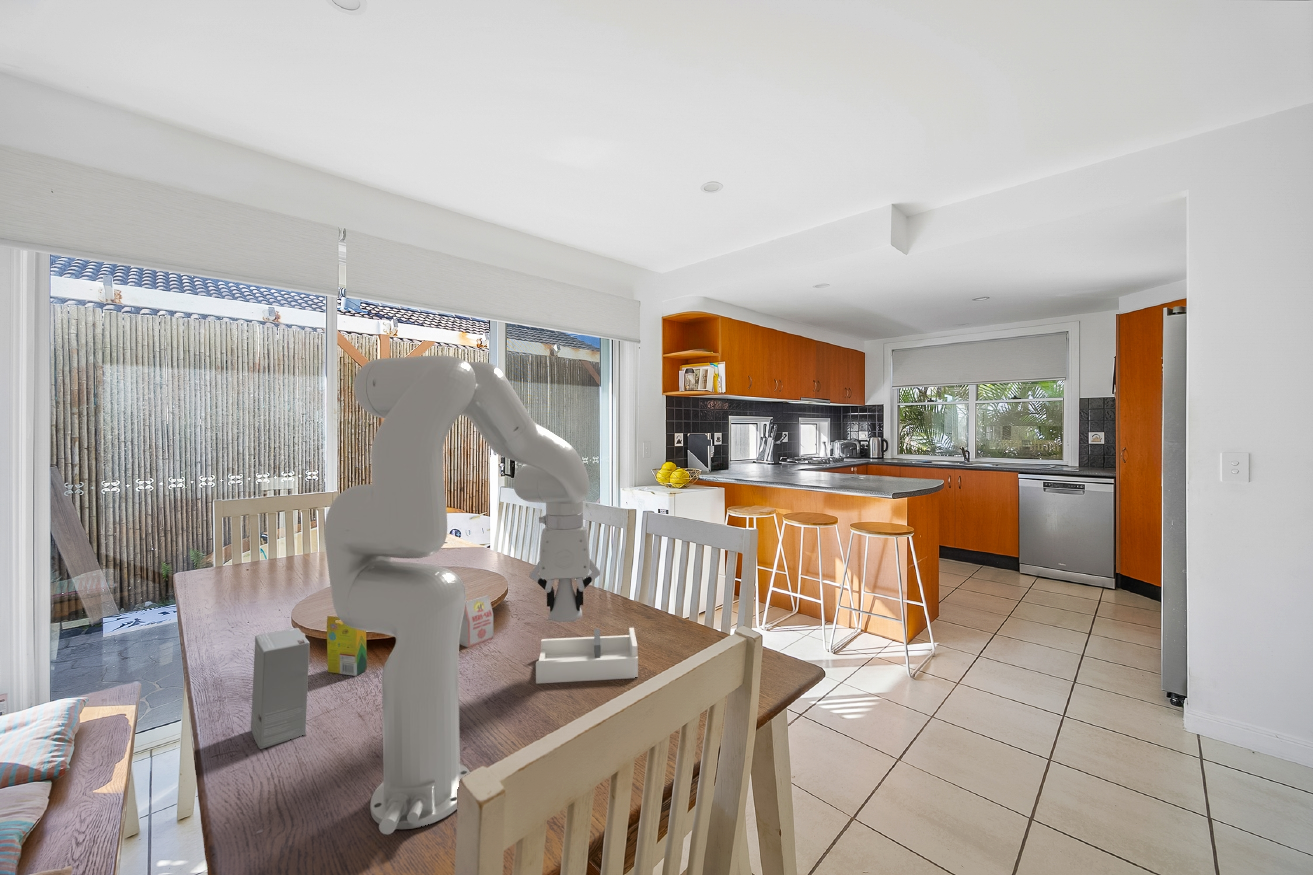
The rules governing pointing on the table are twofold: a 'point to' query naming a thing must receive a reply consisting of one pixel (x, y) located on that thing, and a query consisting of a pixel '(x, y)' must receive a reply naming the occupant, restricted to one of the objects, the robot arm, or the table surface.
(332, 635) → the crayon box
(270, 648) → the skincare box
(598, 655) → the pusher
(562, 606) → the flask
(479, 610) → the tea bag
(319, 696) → the table surface
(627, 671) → the tray
